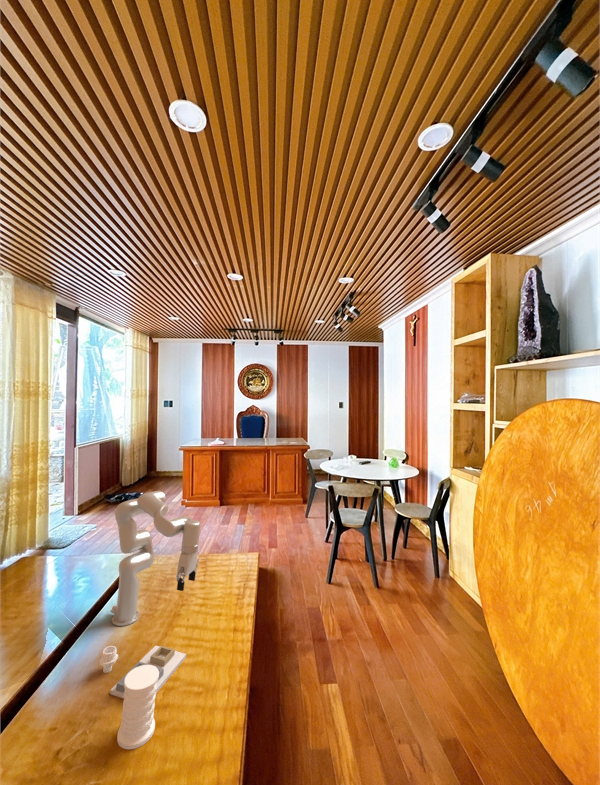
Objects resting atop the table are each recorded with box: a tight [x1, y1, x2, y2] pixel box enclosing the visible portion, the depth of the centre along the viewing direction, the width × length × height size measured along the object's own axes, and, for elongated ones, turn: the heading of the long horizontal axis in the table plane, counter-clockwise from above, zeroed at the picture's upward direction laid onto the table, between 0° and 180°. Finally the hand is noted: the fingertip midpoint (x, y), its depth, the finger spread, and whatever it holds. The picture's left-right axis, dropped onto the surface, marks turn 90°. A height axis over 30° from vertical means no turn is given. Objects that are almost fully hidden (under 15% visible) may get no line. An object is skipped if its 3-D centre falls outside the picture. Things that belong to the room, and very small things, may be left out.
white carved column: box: [116, 665, 159, 750], centre depth 113 cm, size 12×12×18 cm
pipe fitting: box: [98, 645, 119, 674], centre depth 137 cm, size 6×7×8 cm
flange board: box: [109, 645, 187, 700], centre depth 137 cm, size 16×26×4 cm, turn 166°
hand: (186, 585), depth 155 cm, fingers open, 9 cm apart
